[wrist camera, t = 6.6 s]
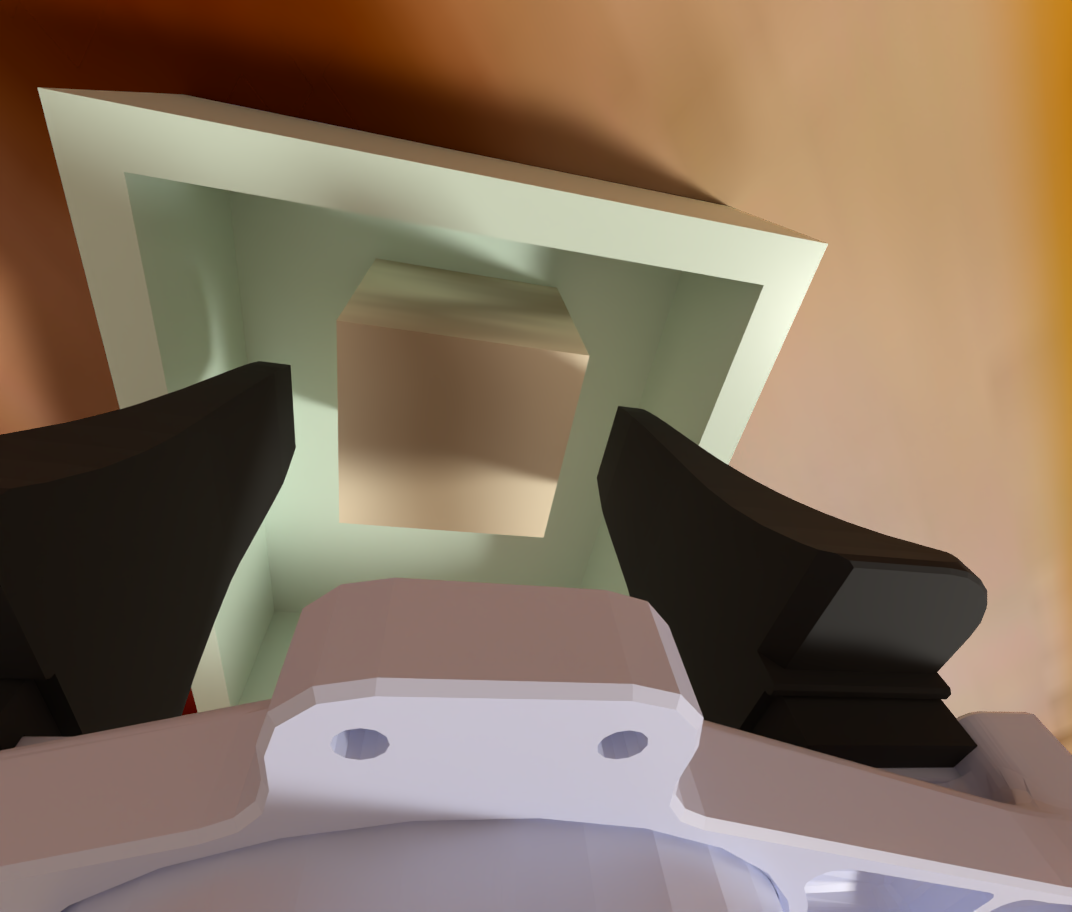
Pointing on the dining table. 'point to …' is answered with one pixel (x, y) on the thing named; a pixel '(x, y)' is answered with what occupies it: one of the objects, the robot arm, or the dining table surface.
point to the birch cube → (454, 400)
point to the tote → (330, 281)
